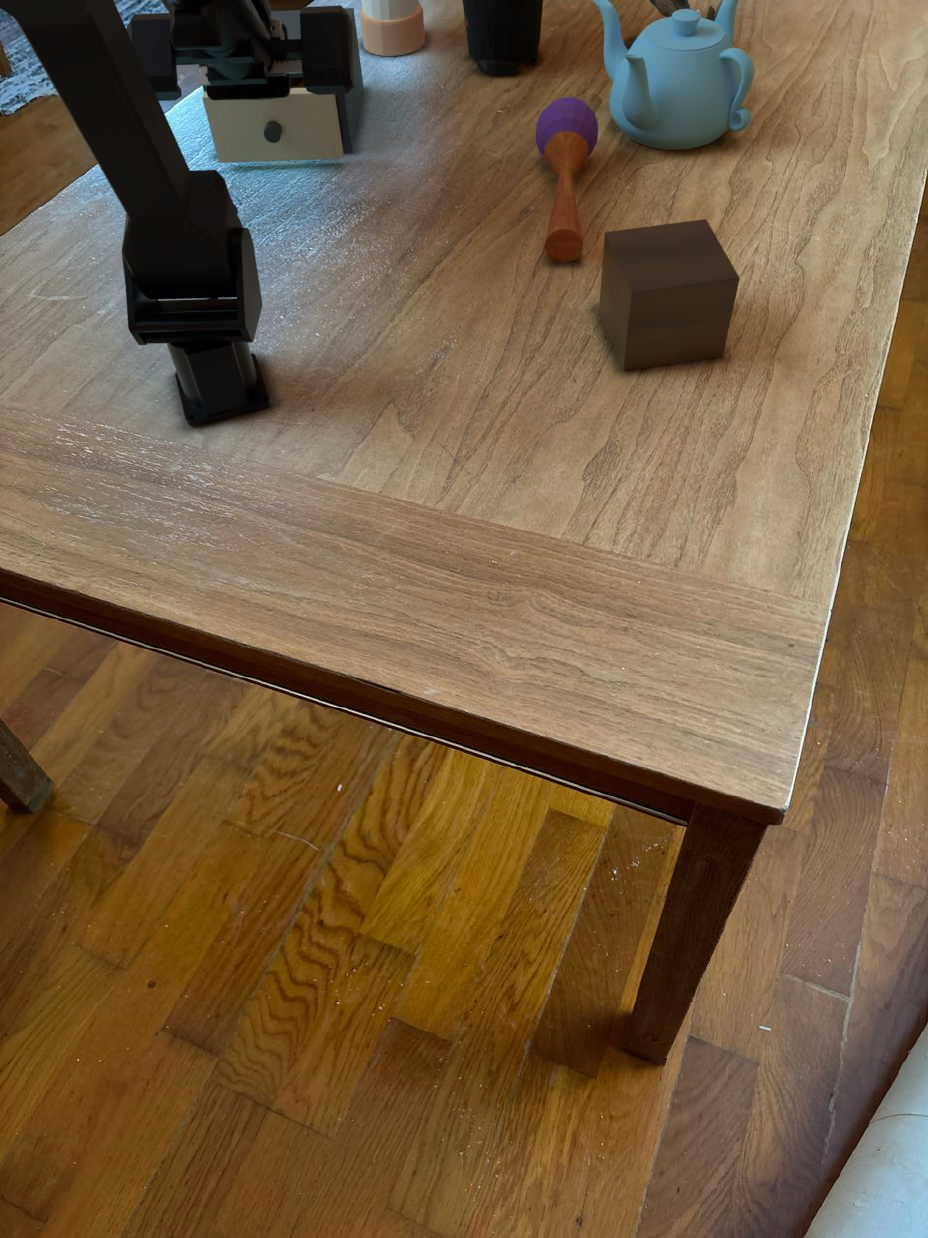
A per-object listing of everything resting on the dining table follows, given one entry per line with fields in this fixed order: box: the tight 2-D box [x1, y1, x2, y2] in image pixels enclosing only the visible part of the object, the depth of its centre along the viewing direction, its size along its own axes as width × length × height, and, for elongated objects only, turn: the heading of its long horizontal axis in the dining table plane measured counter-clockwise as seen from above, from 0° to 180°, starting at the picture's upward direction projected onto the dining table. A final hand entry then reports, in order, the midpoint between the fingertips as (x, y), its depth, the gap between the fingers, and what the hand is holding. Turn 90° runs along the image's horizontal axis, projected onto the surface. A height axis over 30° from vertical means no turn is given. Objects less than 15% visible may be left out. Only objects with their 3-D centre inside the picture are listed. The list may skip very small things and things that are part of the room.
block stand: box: [598, 218, 741, 372], centre depth 73 cm, size 8×8×7 cm
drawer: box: [201, 88, 344, 164], centre depth 94 cm, size 14×12×6 cm
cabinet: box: [198, 7, 365, 153], centre depth 96 cm, size 14×14×8 cm
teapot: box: [592, 0, 755, 151], centre depth 91 cm, size 15×15×10 cm
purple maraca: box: [535, 96, 599, 264], centre depth 86 cm, size 6×6×20 cm
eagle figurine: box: [626, 0, 723, 50], centre depth 103 cm, size 8×7×9 cm
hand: (266, 93), depth 88 cm, fingers closed, pressing on drawer
